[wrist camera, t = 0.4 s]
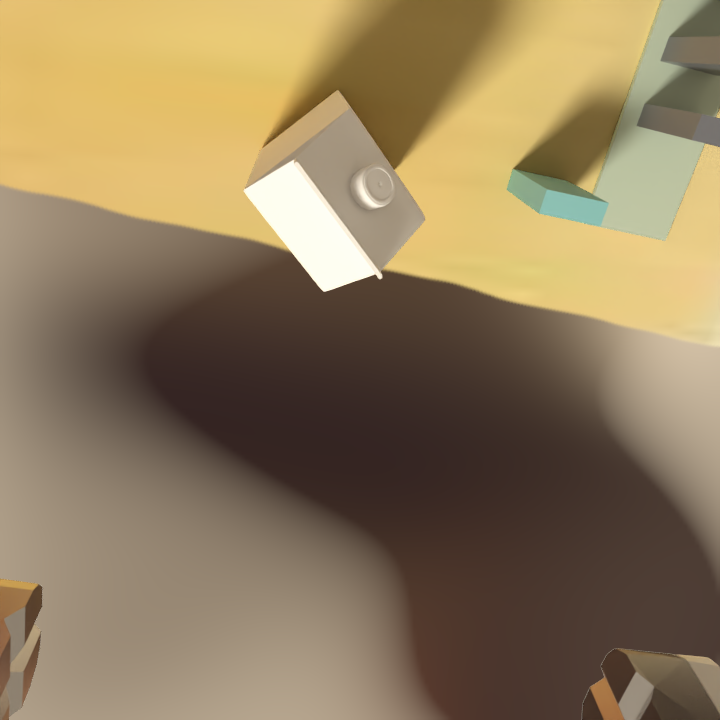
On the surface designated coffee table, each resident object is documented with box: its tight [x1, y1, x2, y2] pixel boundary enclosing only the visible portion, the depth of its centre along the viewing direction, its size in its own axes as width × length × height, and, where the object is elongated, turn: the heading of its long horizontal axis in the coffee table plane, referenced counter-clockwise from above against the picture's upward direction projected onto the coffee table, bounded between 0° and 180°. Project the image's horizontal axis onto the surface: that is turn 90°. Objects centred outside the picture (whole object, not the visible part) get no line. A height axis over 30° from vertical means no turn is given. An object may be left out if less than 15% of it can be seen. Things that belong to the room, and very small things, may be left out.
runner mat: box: [584, 0, 720, 241], centre depth 49 cm, size 26×7×1 cm, turn 168°
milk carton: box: [244, 90, 425, 292], centre depth 42 cm, size 7×7×19 cm
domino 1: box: [507, 169, 609, 226], centre depth 49 cm, size 2×4×8 cm, turn 77°
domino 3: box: [637, 104, 720, 147], centre depth 47 cm, size 2×4×8 cm, turn 78°
